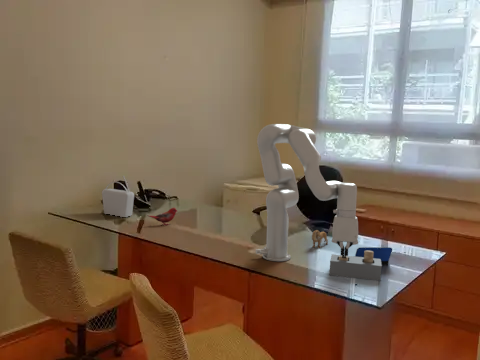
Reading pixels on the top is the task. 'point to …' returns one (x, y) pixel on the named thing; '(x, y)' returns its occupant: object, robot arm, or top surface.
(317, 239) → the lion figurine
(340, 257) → the peg
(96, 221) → the top surface
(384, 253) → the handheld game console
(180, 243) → the top surface
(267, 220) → the robot arm
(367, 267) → the block
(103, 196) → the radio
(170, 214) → the decorative bird figurine
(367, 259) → the peg
